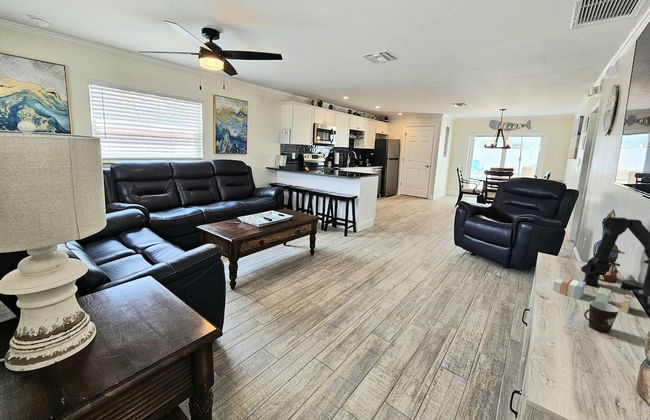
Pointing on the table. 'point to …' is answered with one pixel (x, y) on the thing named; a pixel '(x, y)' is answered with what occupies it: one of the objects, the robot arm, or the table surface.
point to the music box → (612, 260)
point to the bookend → (624, 304)
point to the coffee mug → (601, 316)
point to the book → (603, 295)
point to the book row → (569, 287)
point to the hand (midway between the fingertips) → (646, 309)
